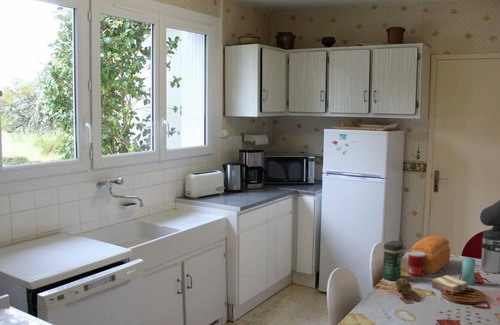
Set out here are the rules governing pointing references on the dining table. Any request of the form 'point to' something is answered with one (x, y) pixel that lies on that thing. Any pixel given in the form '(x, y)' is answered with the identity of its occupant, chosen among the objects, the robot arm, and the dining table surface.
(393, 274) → the coffee jar
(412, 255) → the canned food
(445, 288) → the plinth
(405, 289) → the potato
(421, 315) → the dining table surface
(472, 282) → the pillar
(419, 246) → the bread
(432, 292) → the dining table surface
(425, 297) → the dining table surface
